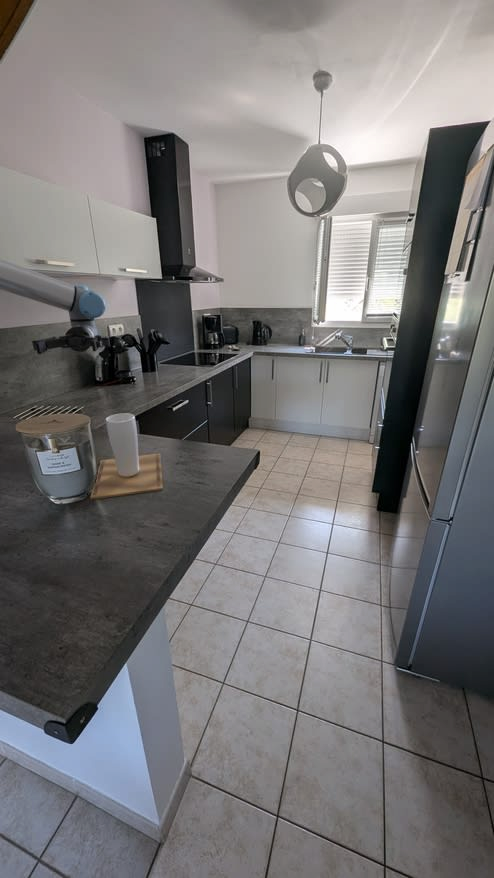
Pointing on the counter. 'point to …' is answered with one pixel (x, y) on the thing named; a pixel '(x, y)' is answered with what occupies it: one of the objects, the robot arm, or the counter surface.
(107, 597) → the counter surface
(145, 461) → the wooden cutting board
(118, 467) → the drinking glass
